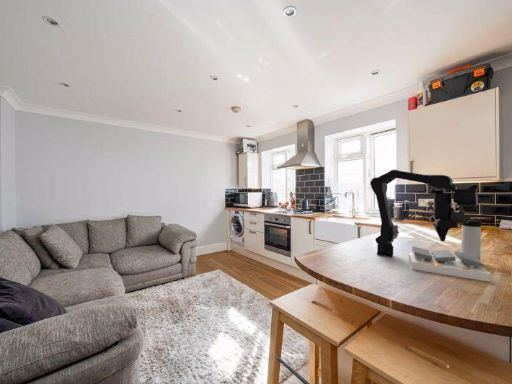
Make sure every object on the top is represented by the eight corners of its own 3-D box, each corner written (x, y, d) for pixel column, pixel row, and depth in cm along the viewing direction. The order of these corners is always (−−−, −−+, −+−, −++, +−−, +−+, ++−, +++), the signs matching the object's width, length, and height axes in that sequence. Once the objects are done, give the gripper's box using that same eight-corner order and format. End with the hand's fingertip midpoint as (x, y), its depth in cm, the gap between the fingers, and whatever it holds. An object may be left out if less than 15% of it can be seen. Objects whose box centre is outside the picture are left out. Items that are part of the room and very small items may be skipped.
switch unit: (411, 268, 90) (412, 259, 89) (408, 258, 102) (408, 250, 102) (490, 281, 77) (490, 270, 77) (475, 268, 90) (475, 258, 90)
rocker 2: (436, 261, 88) (435, 257, 88) (431, 253, 97) (431, 250, 97) (455, 260, 85) (455, 257, 85) (449, 253, 94) (448, 250, 94)
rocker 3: (461, 261, 84) (462, 258, 84) (454, 254, 93) (455, 251, 93) (482, 267, 81) (483, 264, 81) (472, 259, 90) (473, 256, 90)
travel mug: (485, 264, 95) (486, 219, 94) (467, 263, 96) (468, 219, 95) (473, 260, 101) (474, 217, 100) (457, 259, 102) (458, 217, 102)
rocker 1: (414, 255, 92) (415, 252, 92) (411, 249, 101) (412, 246, 101) (431, 260, 89) (432, 256, 89) (427, 253, 98) (428, 250, 98)
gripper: (476, 207, 79) (476, 249, 79) (462, 203, 94) (461, 239, 95) (437, 205, 85) (437, 245, 85) (429, 203, 100) (429, 236, 101)
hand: (442, 241), depth 91 cm, fingers closed
